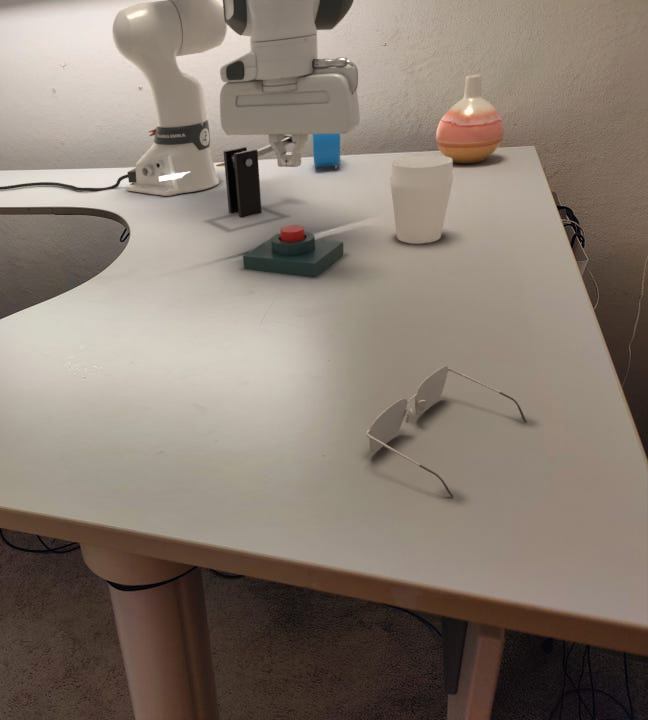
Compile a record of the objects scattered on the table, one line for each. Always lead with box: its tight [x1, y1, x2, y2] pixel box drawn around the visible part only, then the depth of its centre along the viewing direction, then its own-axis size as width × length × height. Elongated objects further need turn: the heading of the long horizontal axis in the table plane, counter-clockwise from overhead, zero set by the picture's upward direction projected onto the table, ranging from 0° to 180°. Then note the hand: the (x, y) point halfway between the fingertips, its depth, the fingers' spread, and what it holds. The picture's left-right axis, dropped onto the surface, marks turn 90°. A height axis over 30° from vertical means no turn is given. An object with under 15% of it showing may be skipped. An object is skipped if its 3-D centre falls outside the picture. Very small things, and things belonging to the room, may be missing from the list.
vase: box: [435, 74, 505, 165], centre depth 144 cm, size 14×14×18 cm
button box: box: [242, 230, 344, 278], centre depth 102 cm, size 12×10×4 cm
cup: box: [390, 154, 454, 245], centre depth 103 cm, size 9×9×12 cm
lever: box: [230, 134, 296, 169], centre depth 123 cm, size 13×6×2 cm, turn 115°
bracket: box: [223, 146, 262, 219], centre depth 124 cm, size 12×9×13 cm
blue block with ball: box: [312, 134, 341, 170], centre depth 155 cm, size 13×6×15 cm, turn 168°
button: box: [279, 224, 305, 242], centre depth 101 cm, size 4×4×2 cm
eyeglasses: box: [365, 365, 528, 498], centre depth 57 cm, size 14×8×4 cm, turn 133°
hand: (289, 166), depth 96 cm, fingers closed
